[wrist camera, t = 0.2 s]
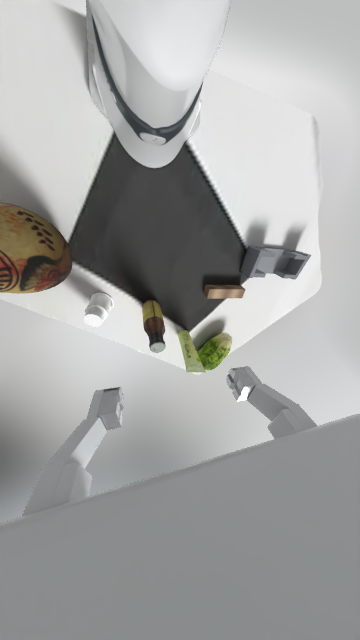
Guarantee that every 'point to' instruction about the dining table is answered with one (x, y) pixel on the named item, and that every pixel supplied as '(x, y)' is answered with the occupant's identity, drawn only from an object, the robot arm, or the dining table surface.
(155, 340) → the sauce bottle
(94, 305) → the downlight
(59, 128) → the dining table surface
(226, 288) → the slat
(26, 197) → the dining table surface
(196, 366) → the tube
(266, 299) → the dining table surface
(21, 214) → the ceramic jug
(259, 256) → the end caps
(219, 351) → the lettuce
